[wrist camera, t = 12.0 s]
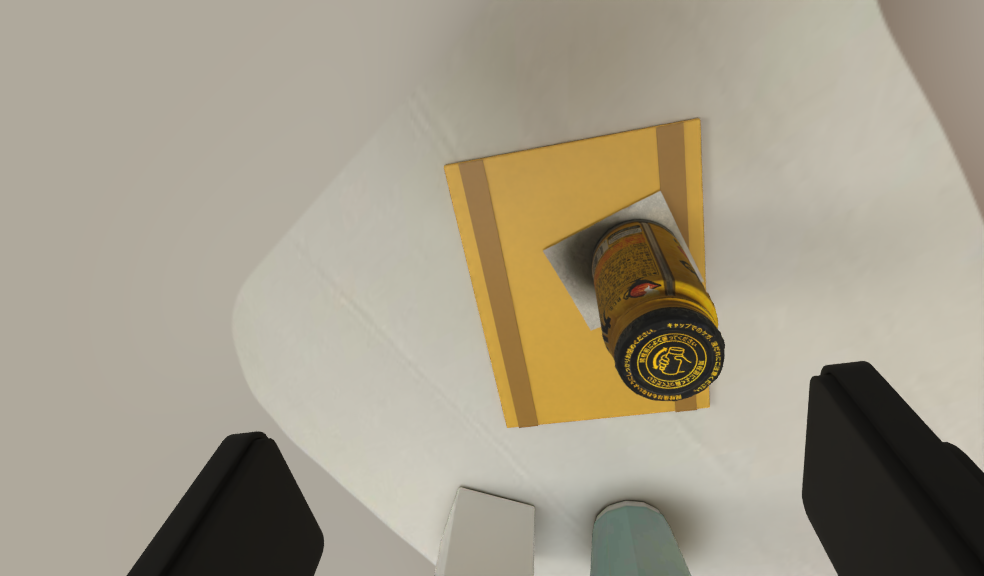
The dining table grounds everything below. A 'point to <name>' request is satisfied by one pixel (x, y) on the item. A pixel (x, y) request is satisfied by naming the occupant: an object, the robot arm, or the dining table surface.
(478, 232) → the towel
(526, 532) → the milk carton
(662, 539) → the disposable coffee cup
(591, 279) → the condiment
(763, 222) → the dining table surface
